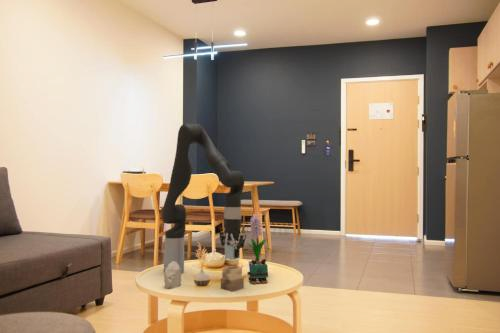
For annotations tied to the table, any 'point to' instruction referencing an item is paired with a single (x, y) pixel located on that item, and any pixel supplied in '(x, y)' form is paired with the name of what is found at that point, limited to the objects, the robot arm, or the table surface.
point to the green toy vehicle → (258, 272)
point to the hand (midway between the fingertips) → (232, 256)
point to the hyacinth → (257, 233)
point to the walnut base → (232, 284)
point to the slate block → (229, 252)
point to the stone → (172, 275)
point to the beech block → (231, 273)
